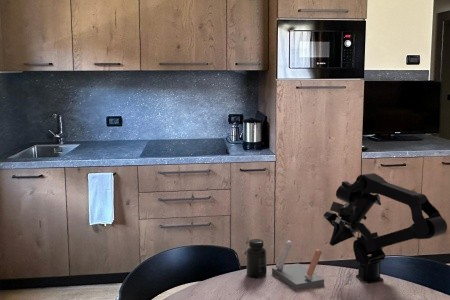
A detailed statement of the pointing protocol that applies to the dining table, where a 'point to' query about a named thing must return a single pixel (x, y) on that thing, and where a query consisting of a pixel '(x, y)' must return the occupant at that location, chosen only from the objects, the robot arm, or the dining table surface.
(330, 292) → the dining table surface
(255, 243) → the supplement bottle
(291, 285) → the switch panel
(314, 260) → the terracotta lever
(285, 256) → the pale grey lever
